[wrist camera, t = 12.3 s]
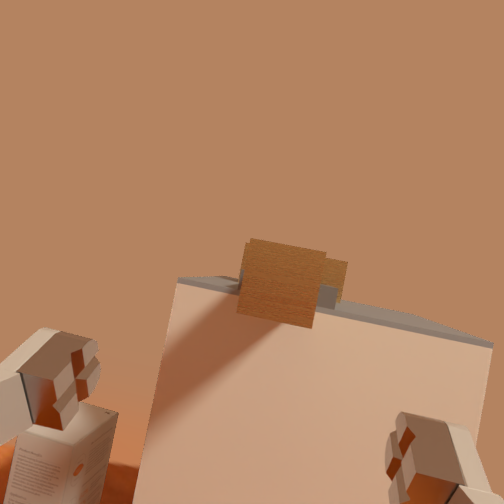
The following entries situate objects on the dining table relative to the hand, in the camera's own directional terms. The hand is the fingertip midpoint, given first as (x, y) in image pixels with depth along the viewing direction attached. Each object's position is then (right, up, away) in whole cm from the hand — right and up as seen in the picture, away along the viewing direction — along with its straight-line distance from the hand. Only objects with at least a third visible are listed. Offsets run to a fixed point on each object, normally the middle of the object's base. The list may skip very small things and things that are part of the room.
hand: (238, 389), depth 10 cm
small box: (-19, -23, +26) cm, 40 cm away
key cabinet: (+2, -27, +24) cm, 36 cm away
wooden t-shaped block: (+3, 0, +17) cm, 18 cm away
